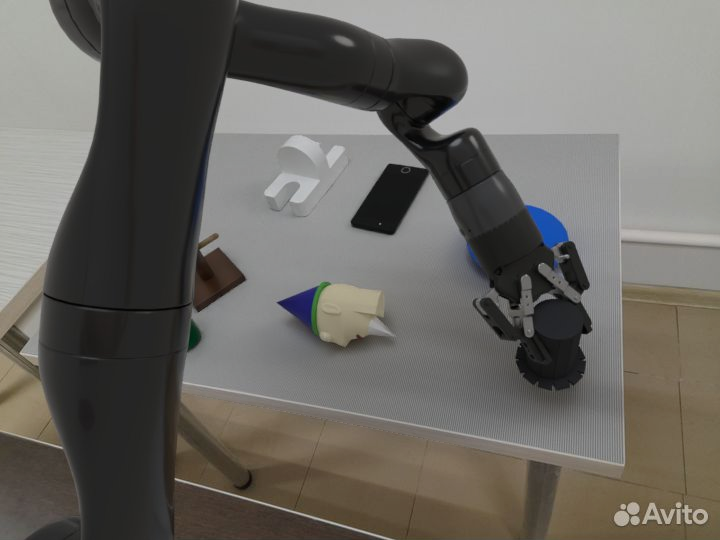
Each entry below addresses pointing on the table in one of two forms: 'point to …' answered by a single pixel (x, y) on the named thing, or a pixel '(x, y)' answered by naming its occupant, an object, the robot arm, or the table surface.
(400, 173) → the cell phone
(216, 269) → the coat stand
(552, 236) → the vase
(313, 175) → the white slotted bracket
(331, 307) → the cartoon head
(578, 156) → the table surface
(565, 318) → the black hat
